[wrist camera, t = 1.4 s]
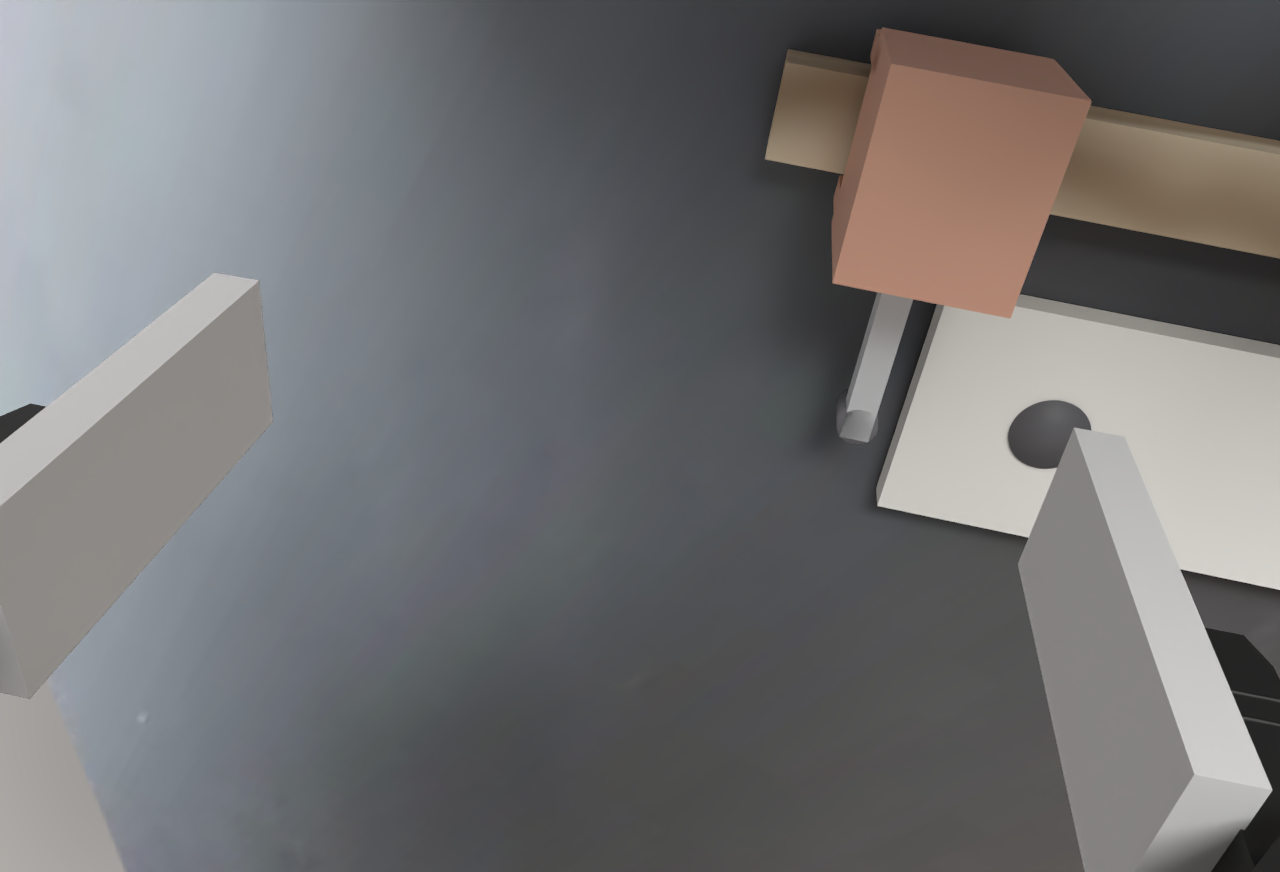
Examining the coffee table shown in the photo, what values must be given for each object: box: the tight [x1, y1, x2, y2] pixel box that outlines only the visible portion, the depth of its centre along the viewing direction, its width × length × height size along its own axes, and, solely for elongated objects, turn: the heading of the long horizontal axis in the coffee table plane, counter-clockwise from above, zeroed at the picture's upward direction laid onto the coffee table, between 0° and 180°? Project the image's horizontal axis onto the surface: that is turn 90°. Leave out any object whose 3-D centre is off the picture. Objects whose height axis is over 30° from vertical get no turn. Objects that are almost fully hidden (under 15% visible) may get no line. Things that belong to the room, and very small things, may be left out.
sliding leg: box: [831, 27, 1092, 445], centre depth 32 cm, size 13×5×6 cm, turn 171°
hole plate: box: [876, 294, 1280, 590], centre depth 37 cm, size 9×22×1 cm, turn 81°
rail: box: [765, 49, 1280, 258], centre depth 32 cm, size 13×29×7 cm, turn 81°
